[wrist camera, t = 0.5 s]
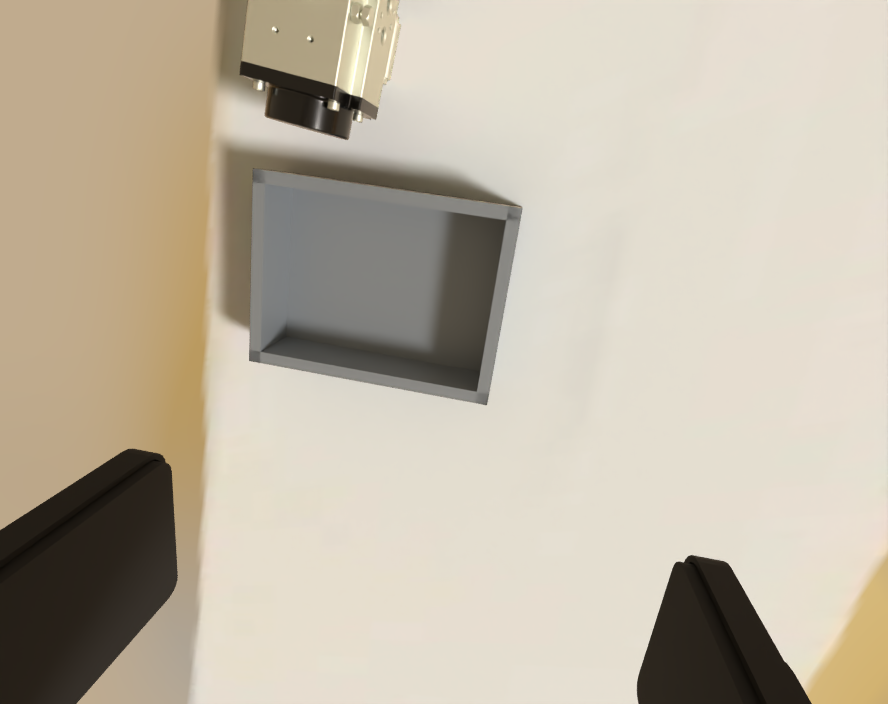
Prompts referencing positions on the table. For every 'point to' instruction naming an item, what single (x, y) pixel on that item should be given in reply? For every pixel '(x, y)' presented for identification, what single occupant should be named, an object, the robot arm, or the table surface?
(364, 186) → the tray
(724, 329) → the table surface
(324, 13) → the pneumatic valve
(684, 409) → the table surface
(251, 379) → the table surface
